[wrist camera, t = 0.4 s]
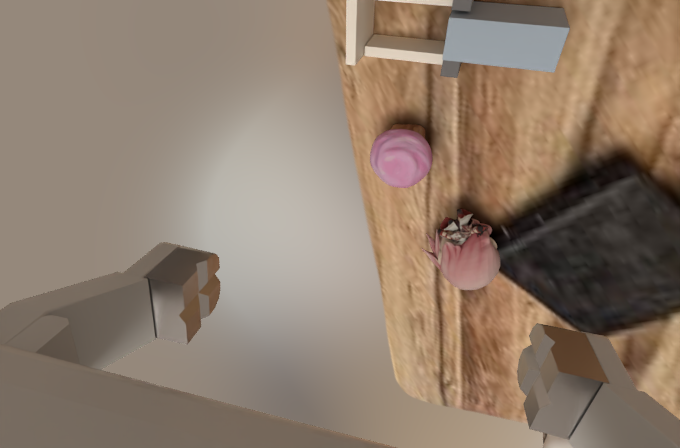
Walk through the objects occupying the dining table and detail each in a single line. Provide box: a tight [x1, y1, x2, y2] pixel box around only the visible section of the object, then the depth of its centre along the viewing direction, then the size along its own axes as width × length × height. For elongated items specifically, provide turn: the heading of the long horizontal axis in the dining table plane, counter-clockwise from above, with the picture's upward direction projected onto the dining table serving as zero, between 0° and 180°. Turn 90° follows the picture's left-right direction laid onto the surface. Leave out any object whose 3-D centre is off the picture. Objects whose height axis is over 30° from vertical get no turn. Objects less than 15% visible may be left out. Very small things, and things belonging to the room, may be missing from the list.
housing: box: [346, 0, 474, 78], centre depth 49 cm, size 13×9×8 cm
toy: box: [422, 208, 500, 290], centre depth 68 cm, size 12×11×15 cm
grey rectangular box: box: [442, 1, 570, 72], centre depth 47 cm, size 12×4×8 cm, turn 90°
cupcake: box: [370, 124, 432, 188], centre depth 60 cm, size 9×9×10 cm
